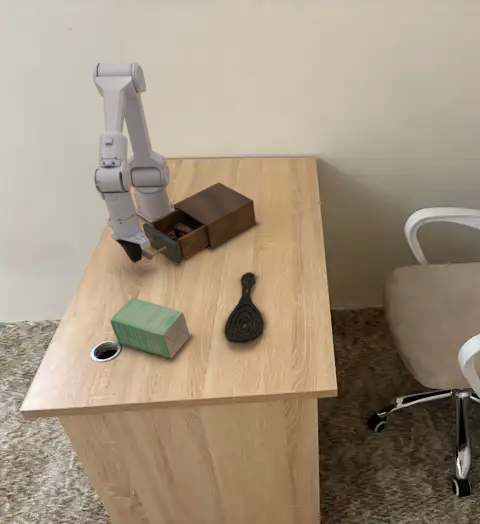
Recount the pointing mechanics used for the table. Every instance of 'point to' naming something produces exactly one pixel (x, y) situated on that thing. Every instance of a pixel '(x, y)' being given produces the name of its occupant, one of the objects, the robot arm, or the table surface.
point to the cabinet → (220, 212)
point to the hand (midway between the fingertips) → (136, 260)
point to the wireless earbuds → (181, 230)
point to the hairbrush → (244, 316)
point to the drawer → (179, 246)
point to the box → (150, 327)
